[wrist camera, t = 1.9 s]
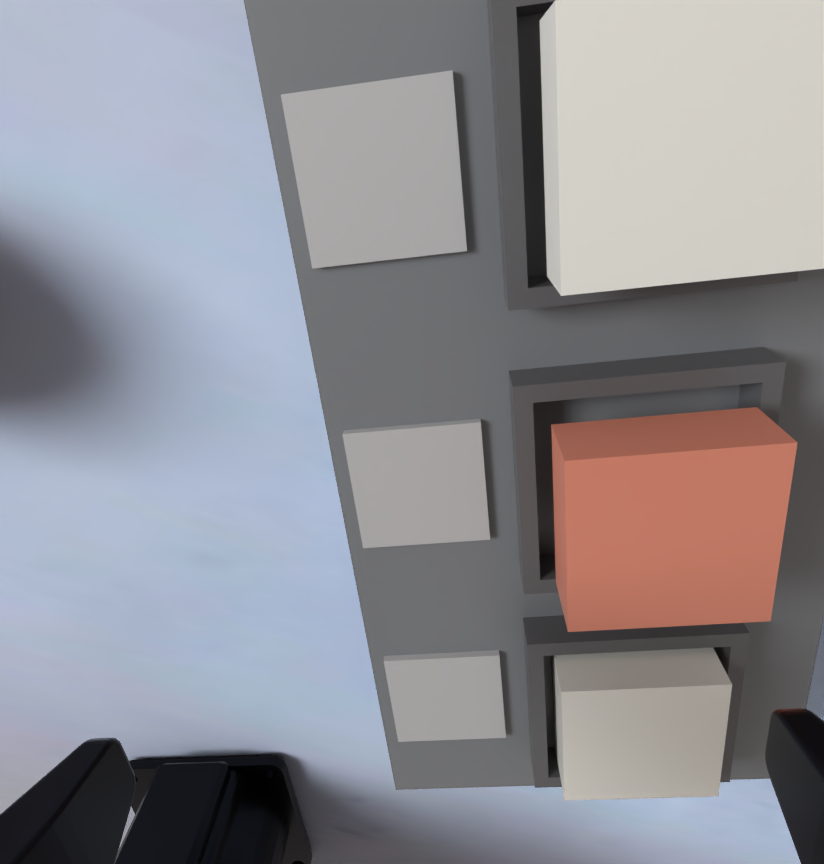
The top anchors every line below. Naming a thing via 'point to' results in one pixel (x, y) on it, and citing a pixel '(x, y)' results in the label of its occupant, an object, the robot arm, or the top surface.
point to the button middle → (670, 518)
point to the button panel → (500, 379)
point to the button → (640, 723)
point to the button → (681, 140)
